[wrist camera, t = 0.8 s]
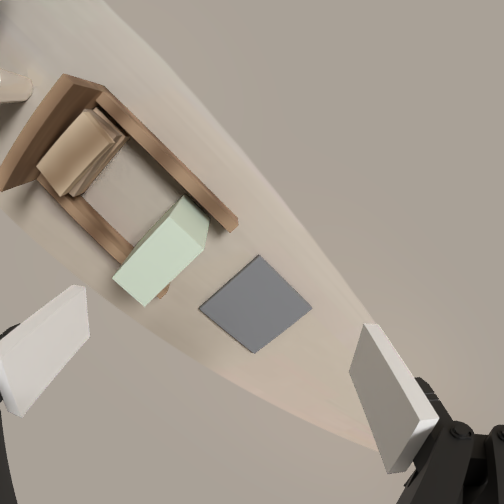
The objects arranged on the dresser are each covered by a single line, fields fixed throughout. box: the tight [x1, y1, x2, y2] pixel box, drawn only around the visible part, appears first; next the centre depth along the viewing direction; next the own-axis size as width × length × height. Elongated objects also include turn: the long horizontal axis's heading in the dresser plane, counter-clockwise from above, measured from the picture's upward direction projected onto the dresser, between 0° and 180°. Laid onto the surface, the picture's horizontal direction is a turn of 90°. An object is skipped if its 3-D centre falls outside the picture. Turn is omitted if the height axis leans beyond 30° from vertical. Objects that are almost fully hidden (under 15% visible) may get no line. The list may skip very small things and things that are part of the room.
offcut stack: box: [37, 107, 131, 197], centre depth 29 cm, size 5×9×6 cm, turn 133°
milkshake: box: [0, 68, 33, 104], centre depth 24 cm, size 4×5×10 cm
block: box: [112, 194, 210, 307], centre depth 32 cm, size 4×8×10 cm, turn 133°
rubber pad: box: [199, 255, 312, 354], centre depth 40 cm, size 10×10×1 cm
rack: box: [0, 74, 238, 299], centre depth 29 cm, size 22×12×10 cm, turn 43°
